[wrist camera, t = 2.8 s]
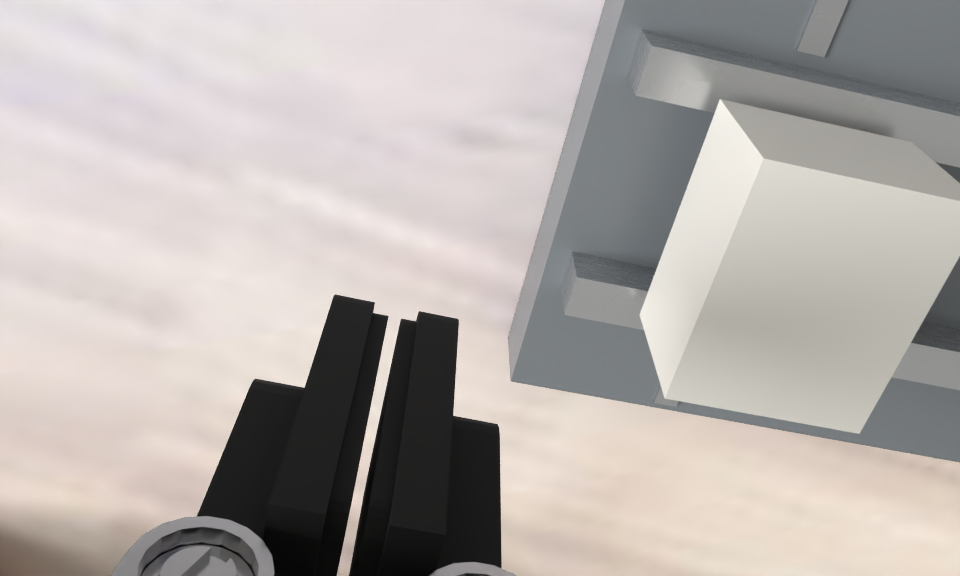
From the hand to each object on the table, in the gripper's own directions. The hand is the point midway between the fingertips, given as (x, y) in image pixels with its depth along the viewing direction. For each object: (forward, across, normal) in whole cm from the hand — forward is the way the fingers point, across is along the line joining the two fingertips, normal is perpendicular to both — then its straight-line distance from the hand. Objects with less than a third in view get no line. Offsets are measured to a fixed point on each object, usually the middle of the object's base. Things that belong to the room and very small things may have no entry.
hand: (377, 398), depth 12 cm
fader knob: (+8, -7, -1) cm, 11 cm away
